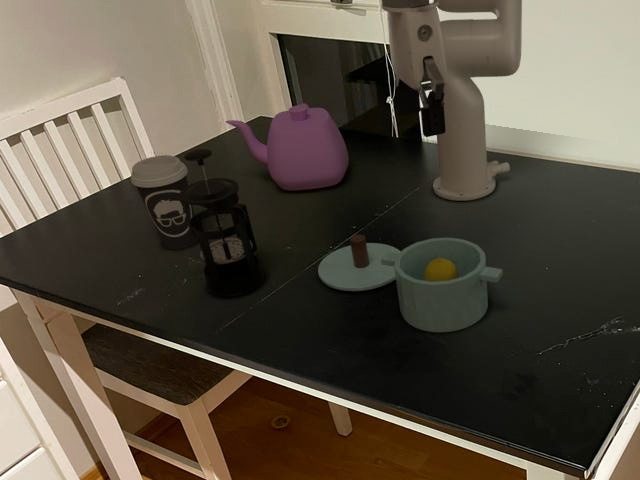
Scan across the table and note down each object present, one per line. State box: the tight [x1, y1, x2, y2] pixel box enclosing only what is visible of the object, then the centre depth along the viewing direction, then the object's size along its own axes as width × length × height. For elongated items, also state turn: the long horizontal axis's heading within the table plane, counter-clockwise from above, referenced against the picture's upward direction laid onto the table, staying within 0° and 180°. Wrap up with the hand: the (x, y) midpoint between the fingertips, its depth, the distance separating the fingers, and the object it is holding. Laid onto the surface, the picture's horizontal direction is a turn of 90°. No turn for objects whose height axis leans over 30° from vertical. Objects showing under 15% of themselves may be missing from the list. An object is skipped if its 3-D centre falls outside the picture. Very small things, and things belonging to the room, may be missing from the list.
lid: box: [317, 234, 402, 292], centre depth 123 cm, size 15×15×6 cm
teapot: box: [225, 103, 350, 191], centre depth 153 cm, size 23×21×15 cm
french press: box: [179, 148, 265, 299], centre depth 117 cm, size 12×9×23 cm
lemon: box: [424, 258, 460, 282], centre depth 113 cm, size 6×6×8 cm
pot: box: [381, 236, 504, 333], centre depth 113 cm, size 14×19×8 cm
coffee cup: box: [130, 154, 199, 250], centre depth 132 cm, size 10×10×15 cm
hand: (421, 123), depth 106 cm, fingers open, 9 cm apart
